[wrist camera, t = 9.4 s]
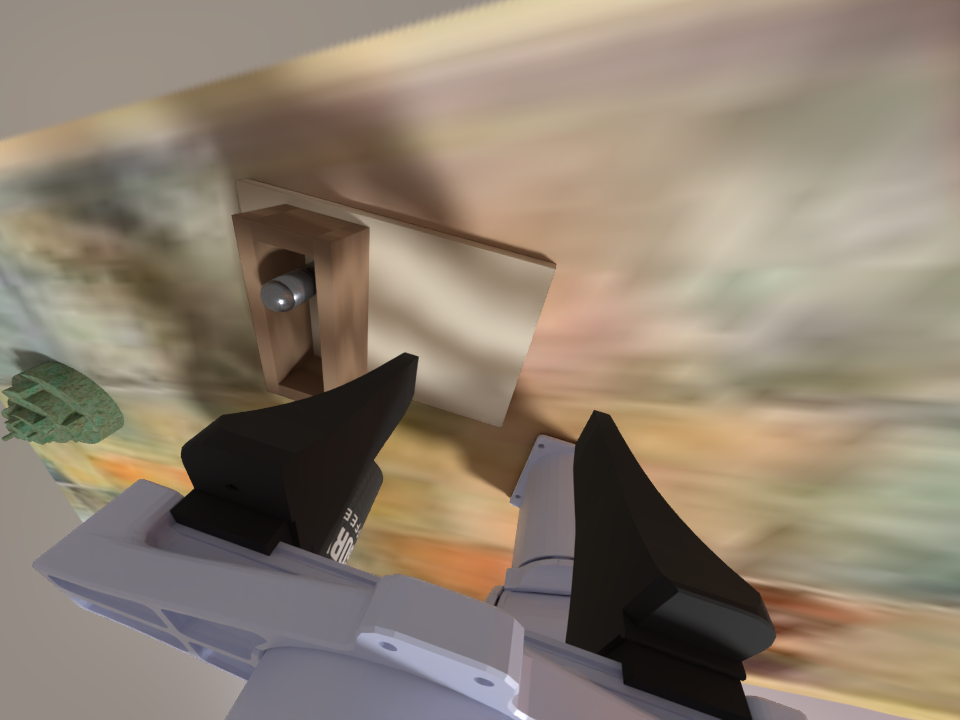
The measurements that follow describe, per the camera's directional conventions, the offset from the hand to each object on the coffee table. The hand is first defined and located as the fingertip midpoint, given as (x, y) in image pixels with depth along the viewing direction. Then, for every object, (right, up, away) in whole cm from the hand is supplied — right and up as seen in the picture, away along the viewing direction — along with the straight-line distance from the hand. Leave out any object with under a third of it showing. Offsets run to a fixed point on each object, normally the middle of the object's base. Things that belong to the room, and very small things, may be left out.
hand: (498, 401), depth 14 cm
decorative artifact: (-47, -3, +27) cm, 55 cm away
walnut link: (-11, +6, +10) cm, 16 cm away
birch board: (-7, +5, +11) cm, 14 cm away
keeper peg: (-10, +8, +10) cm, 16 cm away
